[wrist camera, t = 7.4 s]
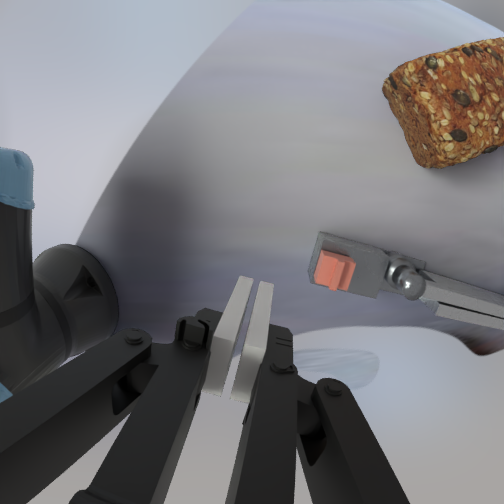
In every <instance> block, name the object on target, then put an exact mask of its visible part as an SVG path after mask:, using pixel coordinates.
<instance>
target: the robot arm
mask: <svg viewBox="0 0 504 504" xmlns="http://www.w3.org/2000/svg"><path fill="white" fill-rule="evenodd" d="M32 209H34V201H33V164H32V161H31V159H30V158H29V156H28V155H27V154H25V153H24V152H22V151H19V150H14V149H8V148H2V147H0V504H26V503H28V502H29V501H30V500H31V499H32V498H34V497H35V496H36V495H37V494H39V493H40V492H41V491H42V490H43V489H45V488H46V487H47V486H48V485H49V484H50V483H52V482H53V481H54V480H55V479H56V478H57V477H59V476H60V475H61V474H62V473H63V472H64V471H65V470H67V469H68V468H69V467H70V466H71V465H73V464H74V463H75V462H76V461H77V460H78V459H79V458H81V457H82V456H83V455H84V454H85V453H86V452H87V451H88V450H90V449H91V448H92V447H93V446H94V445H95V444H96V443H98V442H99V441H100V440H101V439H102V438H103V437H104V436H105V435H106V434H108V433H109V432H110V431H111V430H112V429H113V428H114V427H115V426H116V425H118V424H119V423H120V422H121V421H122V420H123V419H124V418H125V417H126V416H127V415H128V414H130V413H131V414H130V416H129V417H128V419H127V421H126V422H125V424H124V426H123V428H122V430H121V431H120V433H119V435H118V436H117V438H116V440H115V442H114V443H113V445H112V447H111V449H110V450H109V452H108V454H107V456H106V457H105V459H104V461H103V463H102V465H101V467H100V468H99V470H98V472H97V473H96V475H95V477H94V479H93V481H92V482H91V484H90V485H89V487H88V488H87V489H86V490H79V491H78V492H77V493H76V494H75V495H74V496H73V497H72V499H71V500H70V502H69V504H163V503H164V501H165V498H166V495H167V492H168V489H169V486H170V483H171V480H172V477H173V475H174V472H175V469H176V466H177V463H178V460H179V457H180V455H181V451H182V449H183V446H184V443H185V440H186V437H187V434H188V432H189V429H190V426H191V422H192V420H193V417H194V414H195V411H196V408H197V406H198V403H199V400H200V395H201V390H202V391H203V392H206V393H210V394H214V395H217V396H221V394H222V391H223V387H224V384H225V381H226V377H227V374H228V371H229V367H230V364H231V361H232V357H233V354H234V351H235V347H236V344H237V340H238V337H239V334H240V330H241V327H242V323H243V320H244V316H245V312H246V308H247V304H248V300H249V296H250V292H251V288H252V284H253V280H254V279H252V278H248V277H244V276H240V277H239V279H238V281H237V283H236V286H235V288H234V290H233V292H232V295H231V297H230V299H229V301H228V304H227V306H226V308H225V310H224V313H222V312H218V311H214V310H211V309H207V308H204V309H202V310H200V311H198V312H197V314H196V316H195V317H193V316H188V317H182V318H180V319H179V320H177V324H176V331H175V339H174V341H173V343H172V344H158V343H152V338H151V336H150V335H149V334H148V333H146V332H145V331H142V330H140V329H134V328H130V329H124V330H121V331H119V332H118V333H116V334H114V335H113V336H111V335H112V334H113V332H114V330H115V328H116V325H117V321H118V302H117V297H116V293H115V290H114V287H113V285H112V282H111V280H110V278H109V277H108V275H107V273H106V272H105V270H104V269H103V267H102V266H101V265H100V263H99V262H98V261H97V260H96V259H95V258H94V257H93V256H92V255H91V254H89V253H88V252H87V251H85V250H84V249H82V248H80V247H78V246H75V245H71V244H61V245H57V246H54V247H52V248H49V249H47V250H45V251H44V252H42V253H41V254H40V255H39V256H38V257H37V258H36V259H35V261H34V262H32ZM273 287H274V284H272V283H268V282H264V281H260V283H259V287H258V291H257V295H256V299H255V303H254V307H253V310H252V314H251V318H250V322H249V326H248V330H247V334H246V338H245V342H244V345H243V349H242V353H241V358H240V361H239V365H238V369H237V373H236V377H235V381H234V385H233V389H232V392H231V396H230V399H232V400H236V401H240V402H244V403H249V405H248V409H247V412H246V415H245V417H244V420H243V423H242V424H243V430H242V434H241V438H240V442H239V447H238V451H237V456H236V460H235V464H234V469H233V473H232V477H231V481H230V485H229V490H228V493H227V498H226V502H225V504H294V490H295V470H296V447H297V450H298V454H299V457H300V460H301V464H302V468H303V471H304V475H305V478H306V482H307V485H308V489H309V492H310V496H311V499H312V503H313V504H410V503H409V501H408V499H407V497H406V495H405V493H404V491H403V489H402V487H401V485H400V483H399V481H398V479H397V478H396V476H395V473H394V472H393V470H392V468H391V466H390V464H389V462H388V460H387V458H386V456H385V454H384V452H383V451H382V449H381V447H380V445H379V443H378V441H377V439H376V438H375V436H374V434H373V432H372V430H371V428H370V426H369V424H368V422H367V421H366V419H365V417H364V415H363V413H362V411H361V409H360V408H359V406H358V404H357V402H356V400H355V398H354V396H353V395H352V393H351V391H350V389H349V388H348V387H347V386H346V385H345V384H344V383H342V382H341V381H339V380H336V379H332V378H322V379H320V380H319V381H318V382H317V384H314V383H312V382H309V381H307V380H305V379H303V378H302V377H300V376H299V375H298V371H297V368H296V366H295V365H294V364H293V335H292V333H291V332H290V330H289V329H288V328H284V327H280V326H276V325H272V324H269V321H270V313H271V304H272V296H273ZM110 336H111V337H110ZM84 351H86V352H84ZM83 352H84V353H83ZM81 353H83V354H81ZM78 354H81V355H79V356H78V357H76V358H74V359H73V360H71V361H69V362H68V363H66V364H64V365H63V366H61V367H59V366H60V365H61V364H62V363H63V362H64V361H66V360H67V359H68V358H69V357H72V356H75V355H78ZM58 367H59V368H58ZM57 368H58V369H57ZM202 388H203V389H202ZM249 401H250V402H249Z"/></svg>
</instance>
